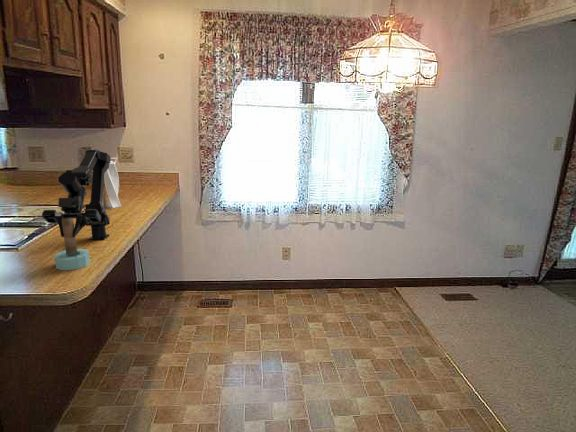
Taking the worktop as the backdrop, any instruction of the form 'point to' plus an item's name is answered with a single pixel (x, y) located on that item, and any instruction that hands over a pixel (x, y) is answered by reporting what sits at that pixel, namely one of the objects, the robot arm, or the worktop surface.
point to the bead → (72, 260)
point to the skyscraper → (111, 186)
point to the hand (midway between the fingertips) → (67, 236)
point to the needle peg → (69, 236)
